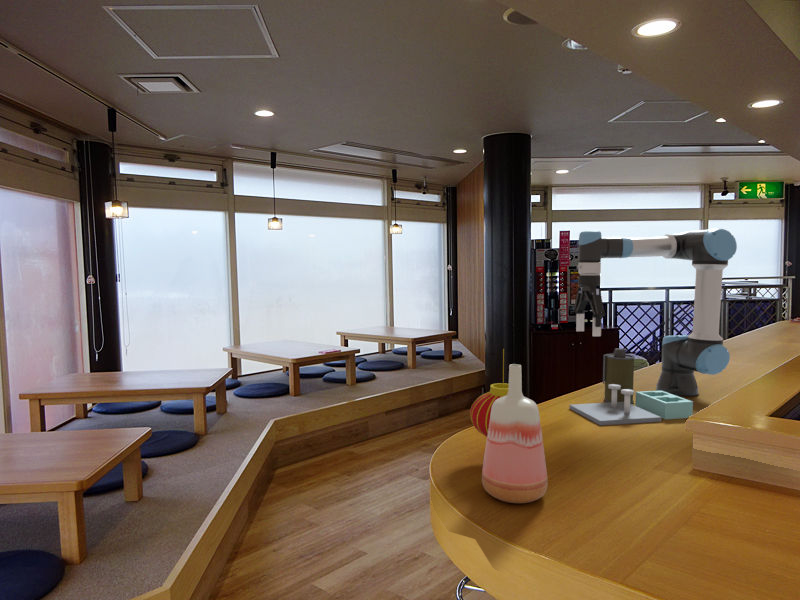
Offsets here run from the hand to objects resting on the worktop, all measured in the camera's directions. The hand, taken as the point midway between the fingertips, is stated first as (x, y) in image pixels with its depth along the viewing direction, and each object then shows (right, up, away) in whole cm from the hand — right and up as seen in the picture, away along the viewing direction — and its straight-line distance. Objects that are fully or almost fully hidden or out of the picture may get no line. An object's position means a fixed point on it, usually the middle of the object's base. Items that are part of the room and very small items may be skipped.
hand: (588, 333), depth 189 cm
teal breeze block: (+24, -27, -5) cm, 37 cm away
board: (+6, -27, -8) cm, 29 cm away
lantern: (-41, -31, -50) cm, 71 cm away
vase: (-42, -32, -71) cm, 88 cm away
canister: (+15, -26, +9) cm, 32 cm away
